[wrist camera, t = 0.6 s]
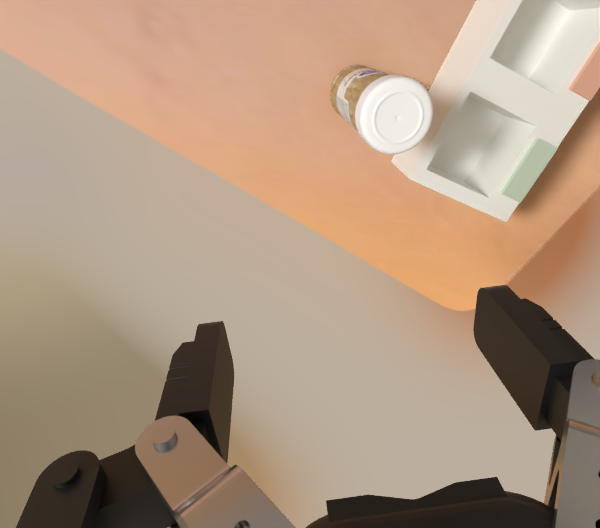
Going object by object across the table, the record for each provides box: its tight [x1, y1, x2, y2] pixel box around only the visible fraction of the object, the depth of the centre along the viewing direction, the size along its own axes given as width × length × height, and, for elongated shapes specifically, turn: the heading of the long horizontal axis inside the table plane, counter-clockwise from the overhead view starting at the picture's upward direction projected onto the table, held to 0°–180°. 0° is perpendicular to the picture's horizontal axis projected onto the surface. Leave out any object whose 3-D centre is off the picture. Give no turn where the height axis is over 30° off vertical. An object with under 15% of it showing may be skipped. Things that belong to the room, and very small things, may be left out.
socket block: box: [391, 0, 600, 222], centre depth 36 cm, size 18×10×6 cm, turn 156°
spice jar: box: [330, 65, 433, 154], centre depth 32 cm, size 5×5×14 cm
